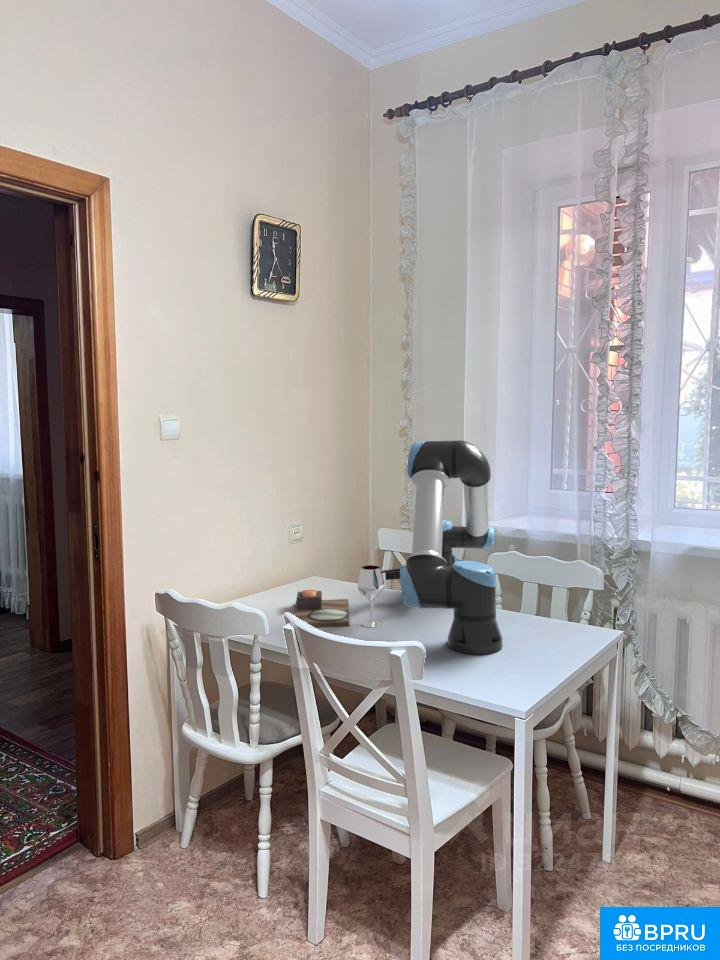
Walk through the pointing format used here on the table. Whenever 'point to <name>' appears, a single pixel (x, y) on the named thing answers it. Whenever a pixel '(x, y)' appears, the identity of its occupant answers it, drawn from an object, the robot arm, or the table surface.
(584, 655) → the table surface
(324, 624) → the board
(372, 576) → the wineglass
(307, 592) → the button
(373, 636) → the table surface
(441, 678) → the table surface
